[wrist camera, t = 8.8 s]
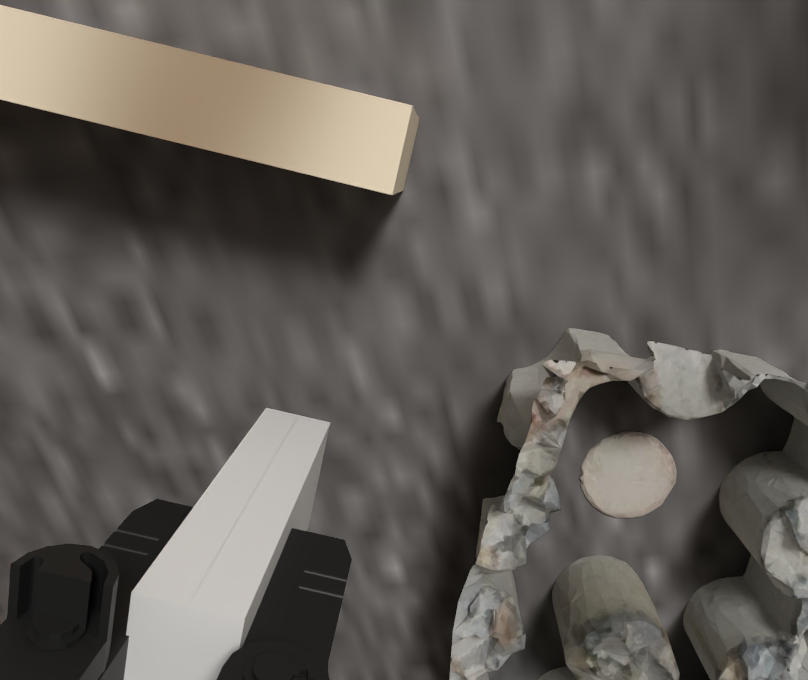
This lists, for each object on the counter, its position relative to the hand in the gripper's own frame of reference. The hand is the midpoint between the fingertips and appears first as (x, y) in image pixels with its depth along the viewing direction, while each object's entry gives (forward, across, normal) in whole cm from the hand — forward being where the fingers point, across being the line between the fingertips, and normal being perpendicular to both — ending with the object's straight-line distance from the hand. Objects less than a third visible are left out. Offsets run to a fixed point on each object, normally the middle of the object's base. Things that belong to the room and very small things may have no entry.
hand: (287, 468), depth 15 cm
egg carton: (+1, +8, 0) cm, 8 cm away
